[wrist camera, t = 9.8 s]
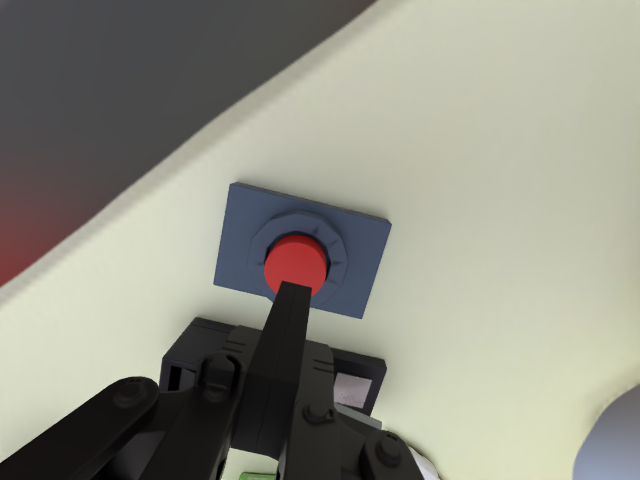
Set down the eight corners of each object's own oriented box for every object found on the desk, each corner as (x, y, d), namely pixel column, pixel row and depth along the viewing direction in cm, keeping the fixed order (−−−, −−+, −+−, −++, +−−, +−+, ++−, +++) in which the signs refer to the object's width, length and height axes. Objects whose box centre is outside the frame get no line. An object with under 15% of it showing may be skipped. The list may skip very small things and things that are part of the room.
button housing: (387, 219, 24) (397, 229, 21) (359, 309, 26) (364, 332, 23) (236, 181, 23) (221, 186, 20) (220, 276, 26) (203, 295, 22)
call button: (332, 241, 21) (333, 250, 19) (318, 293, 22) (317, 306, 20) (276, 228, 21) (270, 235, 19) (264, 280, 22) (258, 292, 20)
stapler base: (384, 359, 27) (399, 410, 22) (367, 409, 29) (376, 468, 23) (195, 316, 27) (162, 357, 21) (187, 370, 28) (153, 421, 23)
